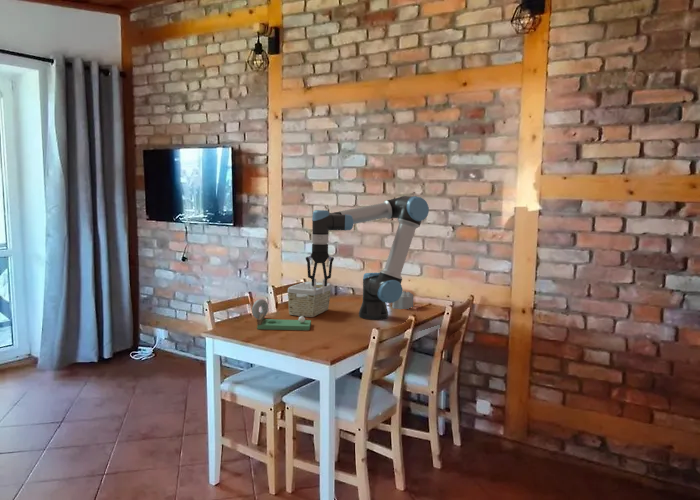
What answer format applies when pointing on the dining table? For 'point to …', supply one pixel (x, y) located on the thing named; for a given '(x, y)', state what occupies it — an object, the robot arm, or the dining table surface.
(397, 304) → the lumpy-topped squat cylinder
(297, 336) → the dining table surface
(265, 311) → the donut
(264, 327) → the mat
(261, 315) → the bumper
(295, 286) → the storage basket
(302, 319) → the ball
